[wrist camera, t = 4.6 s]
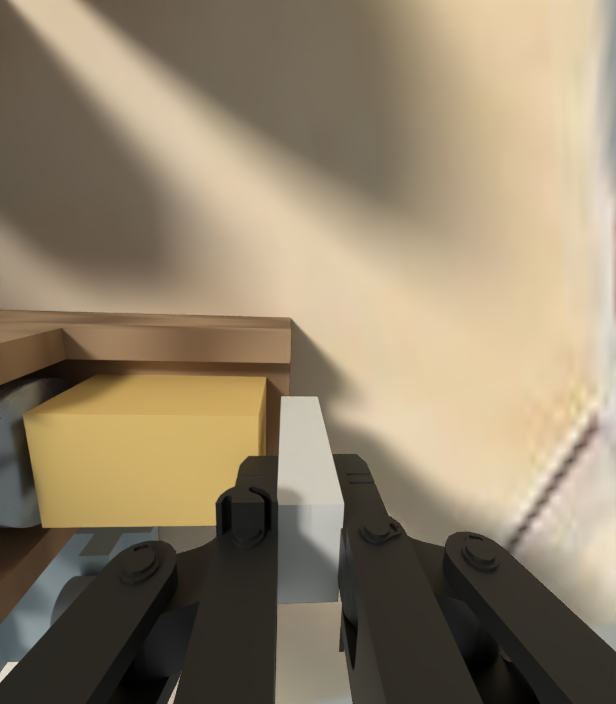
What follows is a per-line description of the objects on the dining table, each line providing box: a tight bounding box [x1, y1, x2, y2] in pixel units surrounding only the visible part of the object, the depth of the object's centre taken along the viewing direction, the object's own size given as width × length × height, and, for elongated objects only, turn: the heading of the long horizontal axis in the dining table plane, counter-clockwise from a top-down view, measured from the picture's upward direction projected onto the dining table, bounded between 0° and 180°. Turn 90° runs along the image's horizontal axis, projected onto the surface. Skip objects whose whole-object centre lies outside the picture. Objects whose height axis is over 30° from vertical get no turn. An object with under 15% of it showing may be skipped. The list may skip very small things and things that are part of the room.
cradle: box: [0, 526, 159, 672], centre depth 18 cm, size 11×9×5 cm
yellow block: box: [23, 374, 266, 528], centre depth 13 cm, size 7×4×4 cm, turn 88°
